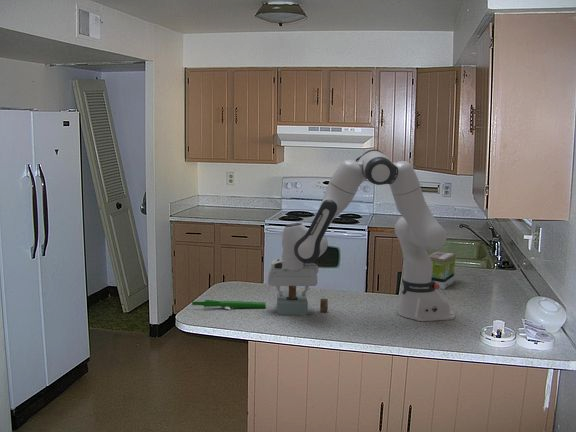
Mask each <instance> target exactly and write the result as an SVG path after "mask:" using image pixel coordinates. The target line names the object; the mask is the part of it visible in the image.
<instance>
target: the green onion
mask: <svg viewBox="0 0 576 432" xmlns="http://www.w3.org/2000/svg"><path fill="white" fill-rule="evenodd" d="M266 303H267V302H264V301H263V302H262V301H237V300H236V301H234V300H211V299H210V300H209V299H205V300H204V301H192V302H191V305H192V306H203V308H206V307H207V308H208V307H209V308H210V307H212V308H213V307H221V308H223V309H225V310H231V309H232V310H233V309H234V308H241V309H243V308H244V309H246V308H247V309H266V307H267V304H266Z"/></svg>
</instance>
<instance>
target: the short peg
mask: <svg viewBox="0 0 576 432" xmlns="http://www.w3.org/2000/svg"><path fill="white" fill-rule="evenodd" d="M319 301H320V304H319V305H320V306H319V308H320V309H319V310H320V311H319V312H320V313H328V308H329V303H328V302H329V299H327V298H323V297H322V298H320V299H319Z"/></svg>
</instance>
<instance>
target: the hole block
mask: <svg viewBox="0 0 576 432" xmlns="http://www.w3.org/2000/svg"><path fill="white" fill-rule="evenodd" d="M282 295H283V296H279V293H277V295H276V311H277V314H276V315H277V316H308V315H309V313H308V309H309V306H308V304H309V303H308V298H307V295H306V296H302V293H298V294H296V300H289V294H282Z"/></svg>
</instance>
